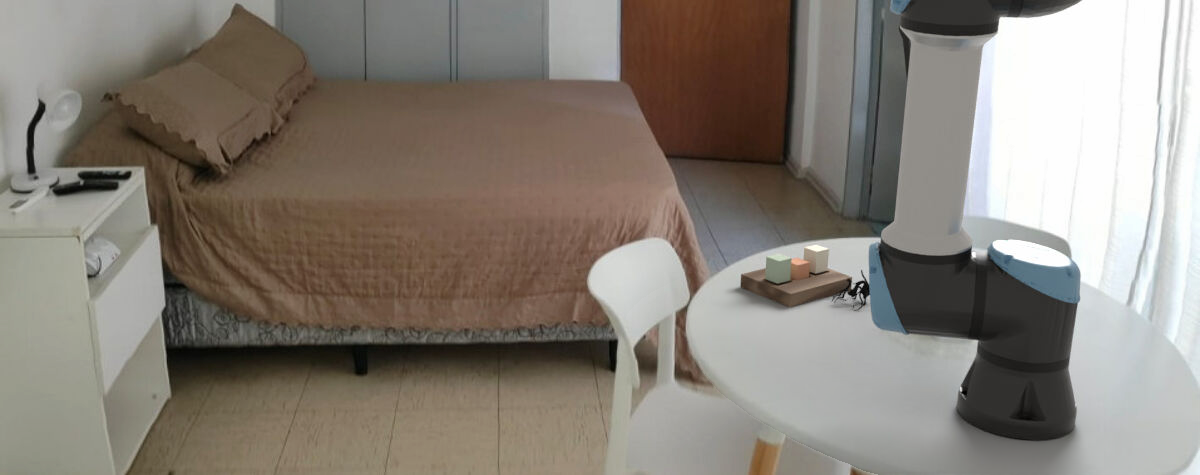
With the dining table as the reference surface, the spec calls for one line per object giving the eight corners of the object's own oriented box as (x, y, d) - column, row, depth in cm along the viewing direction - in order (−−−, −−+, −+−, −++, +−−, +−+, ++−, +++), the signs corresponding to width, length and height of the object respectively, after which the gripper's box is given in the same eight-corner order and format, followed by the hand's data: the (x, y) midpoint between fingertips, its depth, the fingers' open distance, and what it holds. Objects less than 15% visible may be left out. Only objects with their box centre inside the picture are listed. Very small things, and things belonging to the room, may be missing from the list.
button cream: (827, 270, 208) (829, 248, 207) (815, 273, 206) (817, 251, 205) (814, 266, 210) (816, 244, 209) (802, 269, 209) (804, 247, 208)
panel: (851, 290, 206) (852, 277, 206) (789, 307, 198) (790, 293, 197) (800, 271, 215) (801, 259, 215) (740, 287, 207) (741, 274, 206)
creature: (846, 319, 196) (887, 304, 198) (842, 290, 194) (884, 275, 196) (822, 303, 203) (862, 289, 205) (818, 275, 201) (859, 261, 203)
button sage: (790, 280, 203) (791, 258, 202) (777, 283, 201) (779, 261, 200) (777, 275, 205) (779, 253, 204) (765, 278, 203) (766, 256, 202)
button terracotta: (808, 284, 206) (809, 262, 205) (796, 287, 204) (797, 265, 203) (795, 279, 208) (797, 257, 207) (783, 282, 207) (785, 260, 205)
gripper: (988, -14, 188) (972, 133, 194) (920, -20, 197) (907, 120, 204) (960, -12, 183) (944, 138, 190) (891, -18, 193) (879, 125, 200)
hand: (925, 129), depth 197 cm, fingers closed
